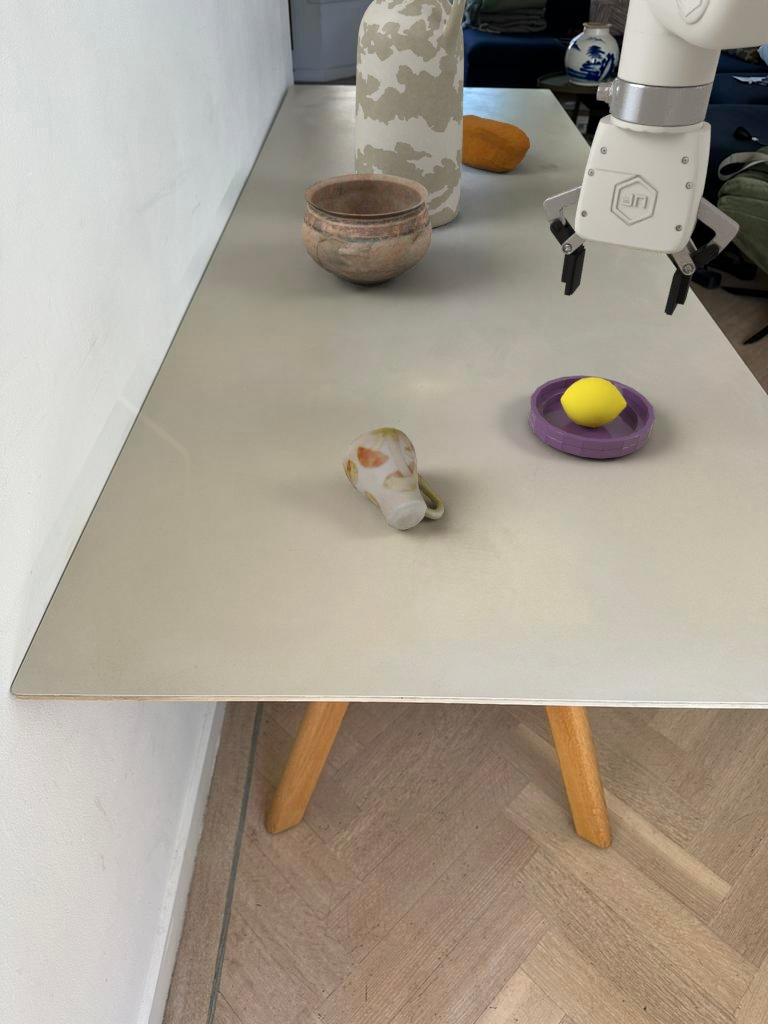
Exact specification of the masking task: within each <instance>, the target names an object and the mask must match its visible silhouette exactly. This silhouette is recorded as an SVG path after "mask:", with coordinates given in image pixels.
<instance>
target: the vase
mask: <svg viewBox="0 0 768 1024" xmlns="http://www.w3.org/2000/svg"><path fill="white" fill-rule="evenodd" d="M466 2H467V1H466V0H453V1H452V2H451V1H450V0H372V2H370V4H369V5H368V7H367V8H366V10H365V11H364V14H363V15H362V18H361V21H360V23H359V24H360V25H359V28H358V29H359V30H358V35H357V45H356V46H357V47H356V75H355V78H356V79H355V107H354V108H355V110H354V111H355V112H354V113H355V114H354V174H384V175H392V176H398V177H403V178H407V179H410V180H413V181H415V182H417V183H419V184H421V185H423V186H424V187H425V188H426V189H427V191H428V198H427V199H426V200H425V205H426V207H427V210H428V213H429V217H430V221H431V226H432V229H433V228H434V229H435V228H438V227H441V226H444V225H446V224H449V223H451V222H452V221H454V220H455V219H456V217H458V215H459V213H460V207H461V206H460V205H461V191H462V189H461V188H462V187H461V186H462V169H463V168H462V166H463V165H462V164H463V163H462V140H463V116H464V81H465V80H464V79H465V78H464V77H465V76H464V75H465V74H464V73H465V69H464V68H465V46H464V44H465V43H464V32H463V26H462V21H463V17H464V13H465V8H466Z"/></svg>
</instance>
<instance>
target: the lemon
mask: <svg viewBox="0 0 768 1024" xmlns="http://www.w3.org/2000/svg"><path fill="white" fill-rule="evenodd" d="M595 377H596V376H594V377H591V378H584V379H580V380H579V381H577V382H575V383H574V384H572V385H571V386H570V387H569V388H568V389H567V390H566V392H565V393H564V394H563V396H562V398H561V404H562V406H563V408H564V410H565V412H566V414H567V415H568V417H569V418H570V419H571V420H572V421H574V422H575V423H576V424H579V425H582V426H587V427H593V428H594V427H598V426H602V425H605V424H608V423H611V422H612V421H613V420H614V419H615V418H616V417H617V416H618V415H619V414H620V413H621V411H622V410H623V409H624V408H625V407H626V404H627V403H626V401H625V400H624V398H623V396H622V395H621V393H620V392H619V391H618V389H617V388H616V387H615V386H614V385H613V384H612V383H611V382H609V381H607V380H604V379H602V378H603V377H601V378H595Z"/></svg>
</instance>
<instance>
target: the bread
mask: <svg viewBox="0 0 768 1024" xmlns="http://www.w3.org/2000/svg"><path fill="white" fill-rule="evenodd" d="M530 141H531V140H530V137H528V135H527V134H526V133H525V132H524V131H523V130H522V129H521V128H519V127H518V126H516V125H514V124H511V123H507V122H504V121H499V120H495V119H492V118H484V117H481V116H478V115H475V114H465V115H464V114H463V140H462V164H463V165H465V166H468V167H471V168H476V169H482V170H485V171H491V172H495V173H501V172H511V171H513V170H514V169H515V168H517V166H518V165H519V164H520V163H521V162H522V161H523V160H524V159H525V157H526V154H527V152H528V151H529V149H530V148H531V142H530Z"/></svg>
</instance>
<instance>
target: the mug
mask: <svg viewBox="0 0 768 1024" xmlns="http://www.w3.org/2000/svg"><path fill="white" fill-rule="evenodd" d="M341 462H342V463H341V464H342V467H343V470H344V473H345V475H346V478H347V479H348V481H349V482H350V484H351V485H352V486H353V487H354V489H356V490H357V491H358V492H359V493H360V494H361V495H362V496H364V497H365V498H366V499H368V500H369V501H371V502H372V503H374V505H375V506H377V507H378V509H379V510H380V512H381V513H382V515H383V517H384V519H385V521H386V522H387V525H388V527H391V528H393V529H397V530H401V531H402V530H409V529H411V528H414V527H416V526H417V525H418V524H419V523H420V522H421V521H423V520H424V518H425V517H426V518H429V519H431V520H439V519H440V518H442V516H443V515H444V512H445V507H444V504H443V502H442V500H441V499H440V497H438V496H437V494H436V493H435V492H434V490H433V489H432V488H431V487H430V486H429V485H428V484H427V482H426V481H425V480H424V478H422V476H421V475H420V474H419V472H418V457H417V453H416V449H415V447H414V445H413V442H412V441H411V439H410V437H408V435H407V434H406V433H405V432H403V431H402V430H400V429H398V428H395V427H387V426H386V427H380V428H375V429H372V430H369V431H367V432H364V433H362V434H360V435H359V436H357V437H356V438H355V439H354V440H352V442H351V443H350V444H349V446H348V447H347V448H346V450H345V452H344V454H343V457H342V461H341ZM421 492H422V493H423V494H424V495H425V496H426V497H427V498H428V499H429V500H430V502H431V503H432V504H433V506H434V507H435V509H432V508H431V507H428V506H427V504H426V501H425V499H424V497H423V496H422V493H421Z"/></svg>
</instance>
